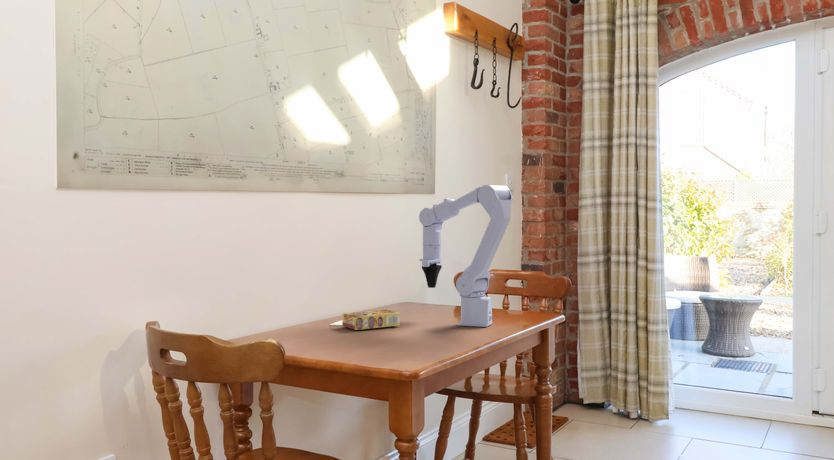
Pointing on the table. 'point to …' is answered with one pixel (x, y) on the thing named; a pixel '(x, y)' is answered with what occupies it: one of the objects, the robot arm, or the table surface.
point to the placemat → (337, 323)
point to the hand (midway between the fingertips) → (431, 287)
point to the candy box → (371, 319)
